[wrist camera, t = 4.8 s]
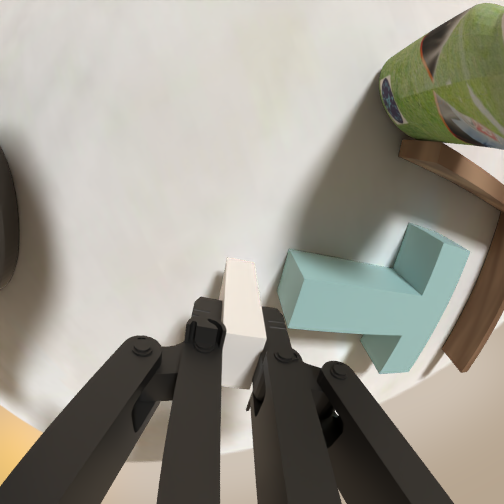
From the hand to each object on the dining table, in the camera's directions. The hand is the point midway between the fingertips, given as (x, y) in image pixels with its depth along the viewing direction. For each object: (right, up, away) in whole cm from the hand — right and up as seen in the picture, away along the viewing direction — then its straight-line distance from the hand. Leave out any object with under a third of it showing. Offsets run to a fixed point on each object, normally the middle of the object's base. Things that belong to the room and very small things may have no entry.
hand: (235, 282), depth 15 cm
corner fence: (+16, 0, +3) cm, 16 cm away
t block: (+9, -1, +3) cm, 9 cm away
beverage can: (+11, +12, -2) cm, 16 cm away
